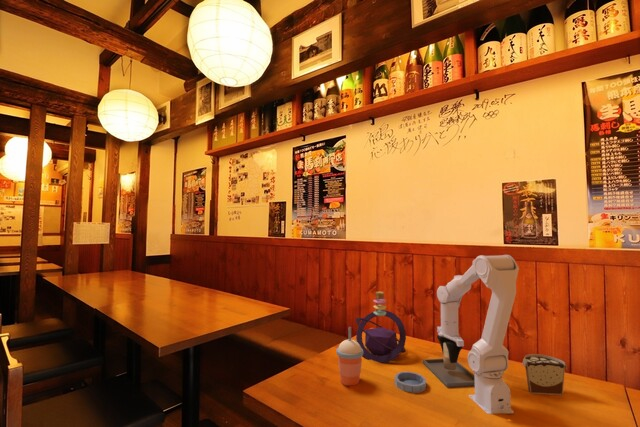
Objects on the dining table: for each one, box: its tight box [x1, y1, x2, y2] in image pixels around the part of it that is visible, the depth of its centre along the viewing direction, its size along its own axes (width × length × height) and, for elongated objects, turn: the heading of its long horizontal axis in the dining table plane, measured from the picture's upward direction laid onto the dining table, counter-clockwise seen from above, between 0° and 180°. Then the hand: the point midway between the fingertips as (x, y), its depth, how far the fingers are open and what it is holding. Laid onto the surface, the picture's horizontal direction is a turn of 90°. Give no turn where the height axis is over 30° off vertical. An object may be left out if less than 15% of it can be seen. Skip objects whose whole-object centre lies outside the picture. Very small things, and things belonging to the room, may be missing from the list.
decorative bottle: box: [355, 291, 407, 364], centre depth 129 cm, size 22×21×25 cm
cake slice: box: [522, 353, 568, 396], centre depth 101 cm, size 12×6×10 cm, turn 84°
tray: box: [422, 358, 475, 389], centre depth 110 cm, size 18×12×2 cm, turn 6°
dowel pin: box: [442, 343, 456, 370], centre depth 110 cm, size 4×4×8 cm
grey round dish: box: [394, 371, 427, 394], centre depth 102 cm, size 10×10×2 cm
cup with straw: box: [335, 326, 364, 387], centre depth 106 cm, size 9×9×18 cm
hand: (450, 359), depth 110 cm, fingers closed on dowel pin, 4 cm apart
